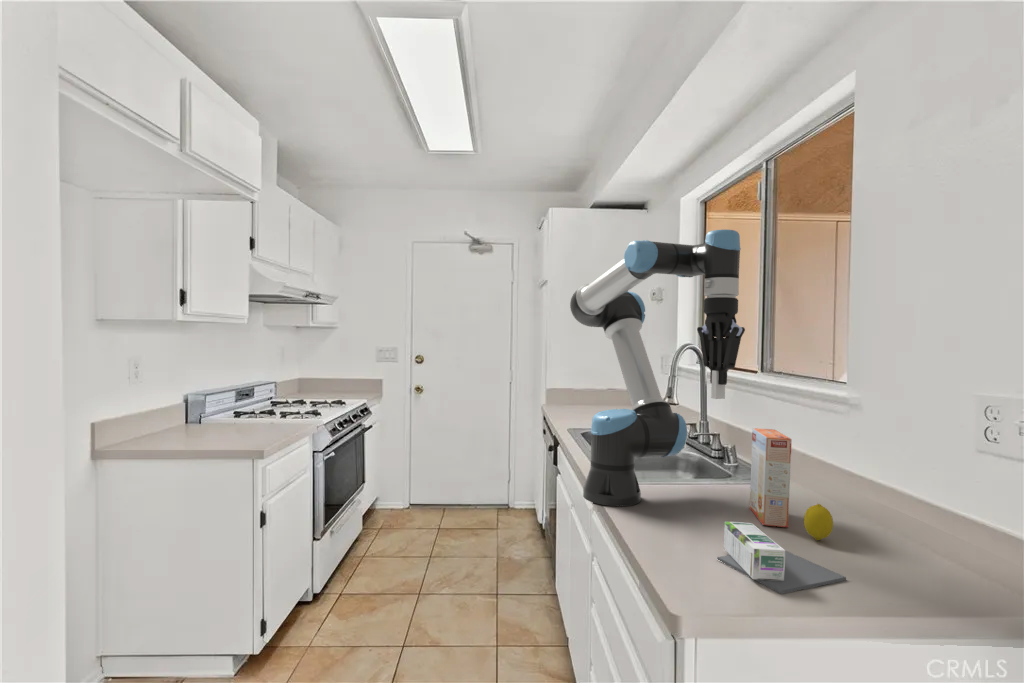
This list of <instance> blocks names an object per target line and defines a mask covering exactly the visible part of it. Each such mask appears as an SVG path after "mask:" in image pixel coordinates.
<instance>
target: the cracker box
mask: <svg viewBox="0 0 1024 683" xmlns="http://www.w3.org/2000/svg"><path fill="white" fill-rule="evenodd" d="M751 434H752V436H751V459H750V461H751V463H750V467H751V469H750V487H749V488H750V491H749V510H751V512H752V513H753V514H754V515H755V517H756V518H757V519H758V521H759V522H760V523H761V524H762V526H768V527H776V526H777V528H778V527H779V528H788V527H789V516H790V514H789V512H790V511H789V508H790V489H791V486H790V484H791V483H790V482H791V462H792V438H790V437H788V436H786V435H785V434H783V433H781V432H780V431H778V430H776V429H772V428H771V429H770V428H759V427H757V428H753V427H752V433H751Z"/></svg>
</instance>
